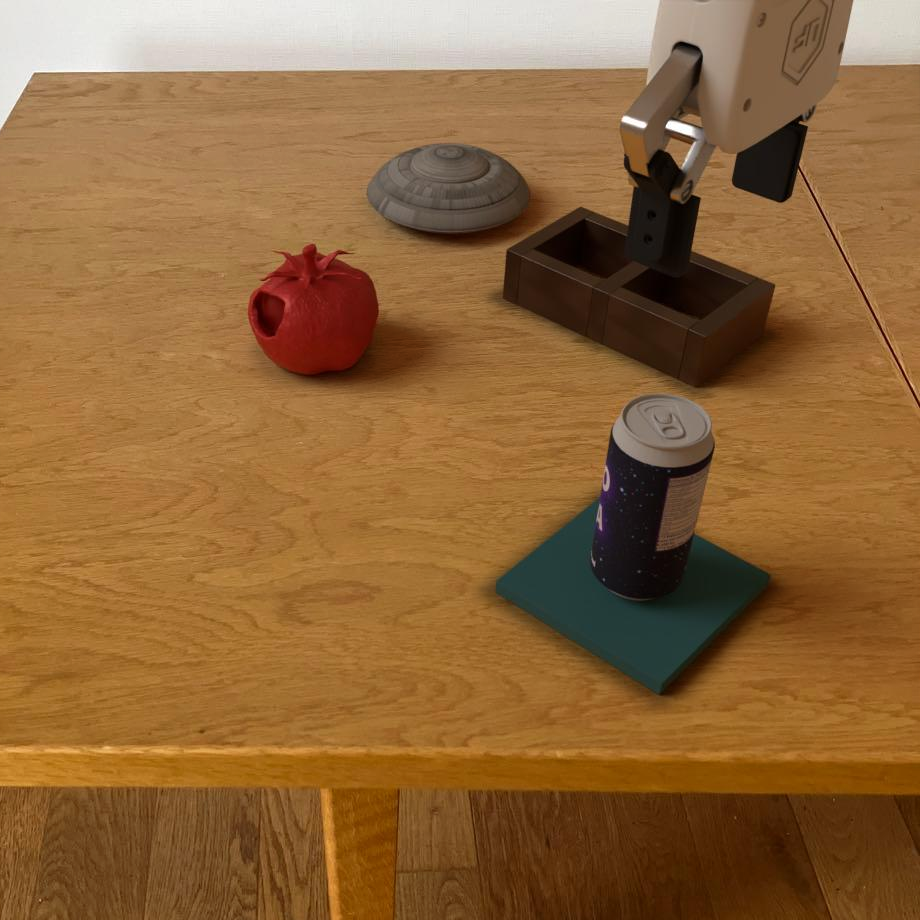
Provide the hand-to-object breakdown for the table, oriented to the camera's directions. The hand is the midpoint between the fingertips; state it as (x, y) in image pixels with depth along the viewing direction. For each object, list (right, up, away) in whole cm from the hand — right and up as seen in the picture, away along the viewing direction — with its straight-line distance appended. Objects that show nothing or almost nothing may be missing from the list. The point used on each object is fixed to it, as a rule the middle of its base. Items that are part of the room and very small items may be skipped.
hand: (709, 228), depth 60 cm
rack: (+4, +3, +37) cm, 38 cm away
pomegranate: (-22, -1, +34) cm, 40 cm away
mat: (-1, -19, +14) cm, 23 cm away
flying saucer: (-10, +15, +51) cm, 54 cm away
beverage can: (-1, -18, +14) cm, 23 cm away
